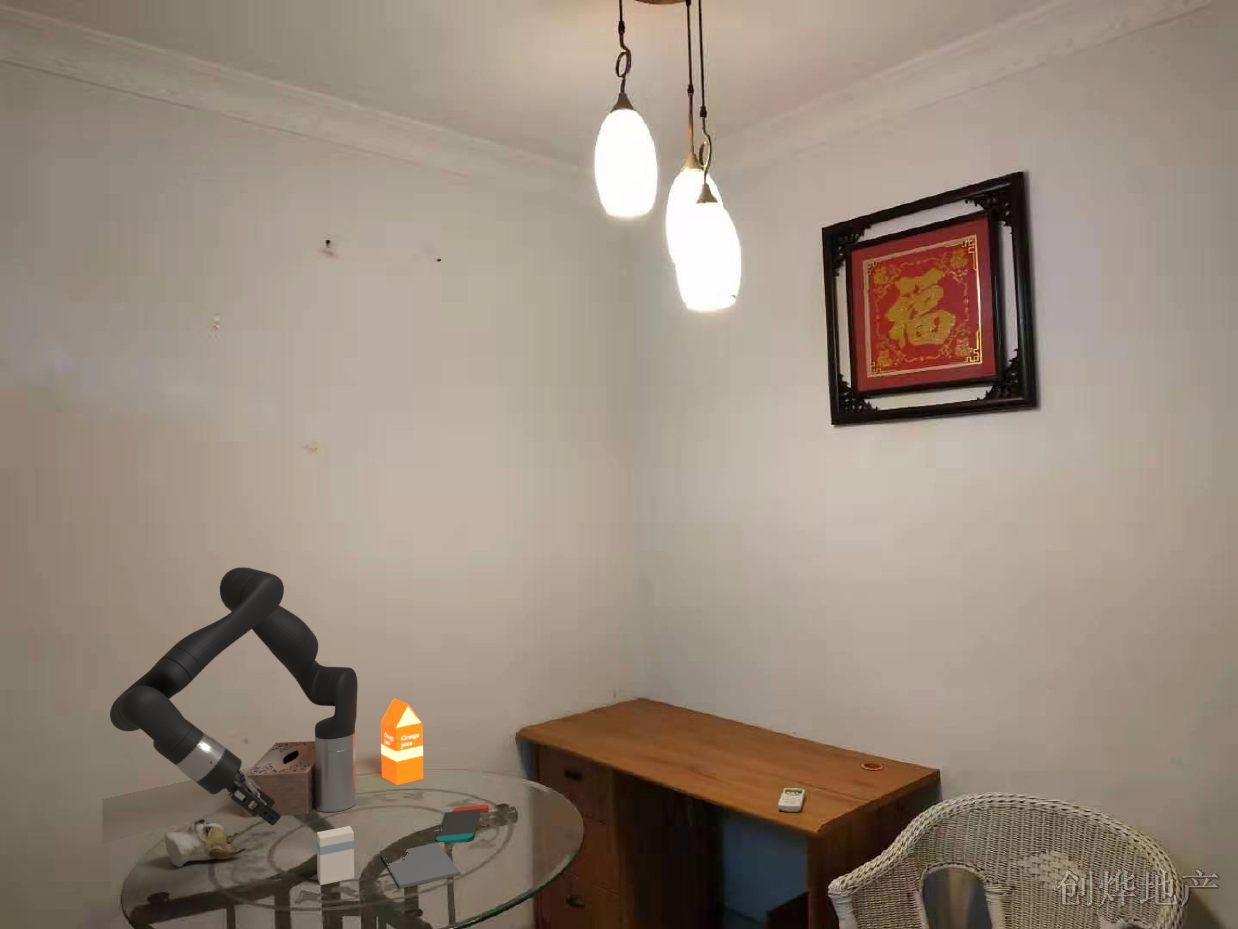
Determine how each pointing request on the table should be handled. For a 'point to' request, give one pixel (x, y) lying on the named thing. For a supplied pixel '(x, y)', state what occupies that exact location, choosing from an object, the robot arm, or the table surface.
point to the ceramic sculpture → (200, 843)
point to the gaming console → (460, 824)
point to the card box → (335, 855)
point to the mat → (423, 866)
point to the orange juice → (401, 744)
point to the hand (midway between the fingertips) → (274, 813)
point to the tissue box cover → (287, 777)
